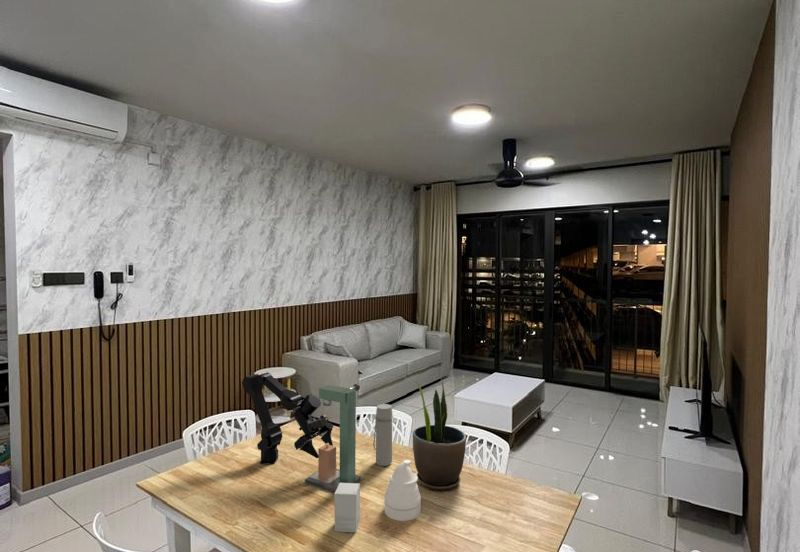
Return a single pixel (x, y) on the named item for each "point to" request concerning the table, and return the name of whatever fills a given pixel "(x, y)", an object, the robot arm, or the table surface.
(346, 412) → the arbor press
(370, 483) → the table surface
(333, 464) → the block
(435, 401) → the potted plant
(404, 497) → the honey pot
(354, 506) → the supplement box
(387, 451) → the water bottle
